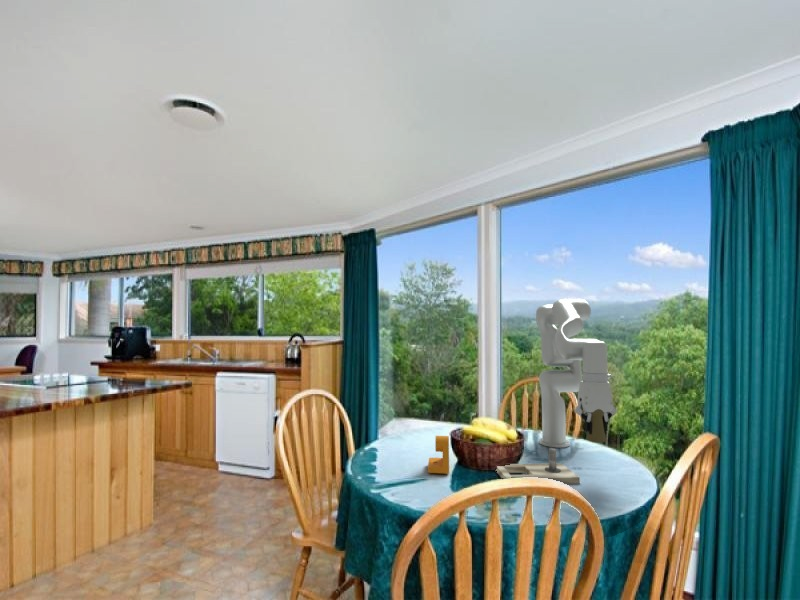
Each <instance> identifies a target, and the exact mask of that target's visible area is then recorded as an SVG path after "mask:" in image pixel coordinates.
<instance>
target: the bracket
mask: <svg viewBox="0 0 800 600" xmlns="http://www.w3.org/2000/svg"><path fill="white" fill-rule="evenodd" d="M434 440H435V453H436V452H437V453H439V452H440V453H442V457H429V458H428V464H427V473H429V474H450V437H449V435H435V439H434Z"/></svg>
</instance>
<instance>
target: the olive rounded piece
mask: <svg viewBox="0 0 800 600" xmlns="http://www.w3.org/2000/svg"><path fill="white" fill-rule="evenodd" d="M603 415H604V412H603V411H602V410H601V409H597V410H595V411H594V412H592V413H591V422H592V434H589V431H587V432H586V437H585V438H586V440H587V441H590V442H592V443H593V442H594V443H605V442H607V439H606V434H605V432H604V425H603V418H602V417H603Z"/></svg>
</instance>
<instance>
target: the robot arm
mask: <svg viewBox="0 0 800 600" xmlns="http://www.w3.org/2000/svg"><path fill="white" fill-rule="evenodd" d="M591 313H592V310H591V306H590V304H589V302H588V301H586V300H585V299H582V298H577V299H576V298H575V299H573V298H568V299H567V298H564V299H558V300H556V301H554V302H553V303H552V304H542V305H540V306H539V307H537V309H536V311H535V321H536V324H537V328H538V330H539V331H538V332H539V333H540V344H541V345H540V349H541V350H540V351H541V360H542V364H543V365H544V366H546V367H552V368H553V367H555V368H556V367H558V368H559V367H560V368H561V367H562V368H564V367H566V368H567V369H546V370H543V371H541V372H540V373H539V376H538V383H539V387H540V394H541V427H542V429H541V430H542V433H541V435H542V437H540V438H539V439H538V443H539V444H540V445H542V446H544V447H549V448H554V449H557V448H558V449H559V448H560V449H561V448H568V447H570V445H571V442H570V441H569V440H567V434H566V433H567V432H566V429H567V428H566V427H567V426H566V423H567V422H566V403H565V400H564V398H563V397H562V396H561V395H560V393H577V392H578V394H577V406H575V407H576V408H575V409H574V411H573V412H574V413H575V414H577V415H578V416H580V417H581V419H583V421H584V430H585V432H586V433H587V431H589V434H592V422H591V413H592V412H594V411H595V410H597V409H601V410H602V411H603V412H604V415H603V417H602V418H603V425H604V432H605V435H607V431H608V422H609V420H610V418H612V416H614V415H615V414H617V412H618V411H617V409H616V408H615V406H614V405H613V394H612V393H613V392H612V388H611V384H610V382H609V379H611V378H612V374H609V373H608V345H607V343H606V342H605V341H602V340H598V339H596V338H572V337H573V336H576V335H578V334H580V333H581V332H582V330H583V329H584V324H585V323H584V322H586V321H587V320H588V319H590V316H591ZM556 325H558V326H559V327H557V326H556ZM582 411H583V412H582Z"/></svg>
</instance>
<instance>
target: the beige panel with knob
mask: <svg viewBox="0 0 800 600" xmlns="http://www.w3.org/2000/svg"><path fill="white" fill-rule="evenodd" d="M509 464H510V465H505V466H497V469H496V470H495V472H496V471H497V472H496V473H497V474H498V476H499V477H500V478H501V479H502V478H511V477H538V478H548V479H553V480H556V481H560V482H563V483H566V484H565V485H574V484H576V485H578V484H581V480H580V476H578V475H577V474H576V473H575V472H573V470H571V469H570V468H568V467H567V466H565V465H564V464H563V463H561V462H560V463H559V462H557V448H554V447H549V448H548V463H546V462H545V463H509ZM523 473H524V474H523Z"/></svg>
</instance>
